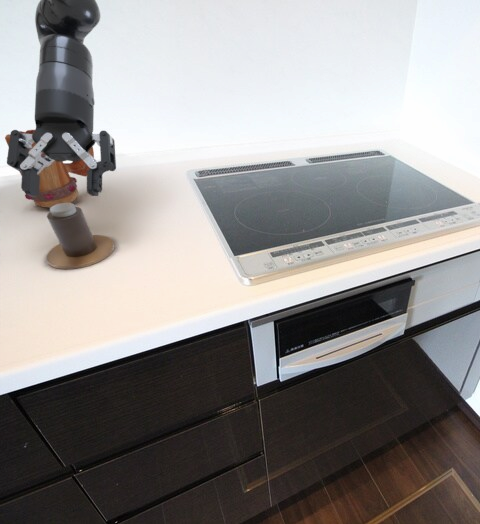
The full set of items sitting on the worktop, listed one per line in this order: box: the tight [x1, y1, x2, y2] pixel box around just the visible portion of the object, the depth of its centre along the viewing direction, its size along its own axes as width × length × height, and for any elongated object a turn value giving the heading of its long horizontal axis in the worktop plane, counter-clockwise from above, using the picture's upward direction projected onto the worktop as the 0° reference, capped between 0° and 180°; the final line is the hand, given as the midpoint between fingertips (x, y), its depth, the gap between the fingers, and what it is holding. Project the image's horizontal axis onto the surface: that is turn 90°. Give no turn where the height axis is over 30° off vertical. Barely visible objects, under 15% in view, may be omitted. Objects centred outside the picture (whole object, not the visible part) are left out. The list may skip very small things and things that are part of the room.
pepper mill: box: [46, 202, 97, 257], centre depth 59 cm, size 5×5×8 cm
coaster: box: [45, 234, 115, 270], centre depth 62 cm, size 10×10×1 cm
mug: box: [4, 129, 95, 208], centre depth 73 cm, size 15×8×15 cm, turn 148°
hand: (62, 195), depth 57 cm, fingers open, 8 cm apart
